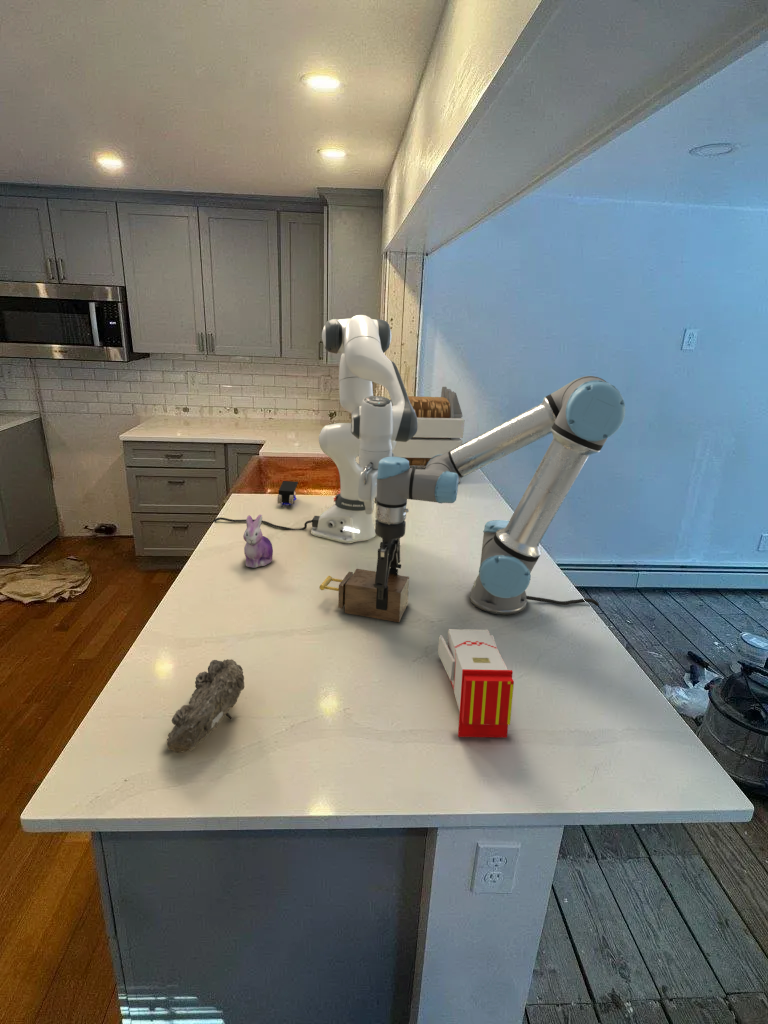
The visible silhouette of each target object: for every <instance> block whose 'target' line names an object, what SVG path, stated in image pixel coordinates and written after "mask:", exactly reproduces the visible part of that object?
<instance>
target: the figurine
mask: <svg viewBox="0 0 768 1024" xmlns="http://www.w3.org/2000/svg"><path fill="white" fill-rule="evenodd" d="M245 520H246V521H247V522H245V523H246V529H245V530H244V533H243V536H242V537H243V540H244V542H245V545H244V547H243V552H244V557H245V567H247V568H254V569H255V568H259V567H264V566H267V565H269V564H270V563H272V561H273V555H274V549H273V544H272V542H271V540H270V538H268V537H266V536H264V535H263V532H262V529H261V525H262V523H261V522H262V520H263V514H259V515H257V517H256V518H255V519H253V518H252V515H247V517H246V519H245ZM253 520H255V521H253Z"/></svg>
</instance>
